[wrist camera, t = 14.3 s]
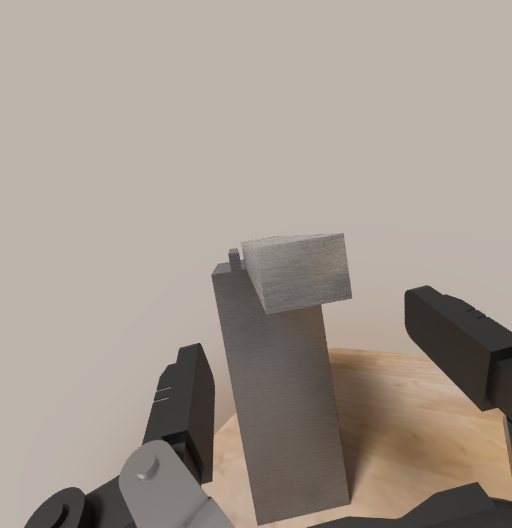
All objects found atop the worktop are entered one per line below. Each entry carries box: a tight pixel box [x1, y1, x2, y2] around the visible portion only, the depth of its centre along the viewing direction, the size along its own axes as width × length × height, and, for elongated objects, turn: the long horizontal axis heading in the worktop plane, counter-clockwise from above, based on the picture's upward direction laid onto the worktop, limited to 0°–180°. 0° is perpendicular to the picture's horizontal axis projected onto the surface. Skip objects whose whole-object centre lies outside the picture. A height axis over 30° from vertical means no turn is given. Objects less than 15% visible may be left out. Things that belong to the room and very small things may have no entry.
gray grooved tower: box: [211, 248, 350, 525], centre depth 41 cm, size 14×12×34 cm
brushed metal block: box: [241, 233, 352, 314], centre depth 24 cm, size 22×4×3 cm, turn 5°
